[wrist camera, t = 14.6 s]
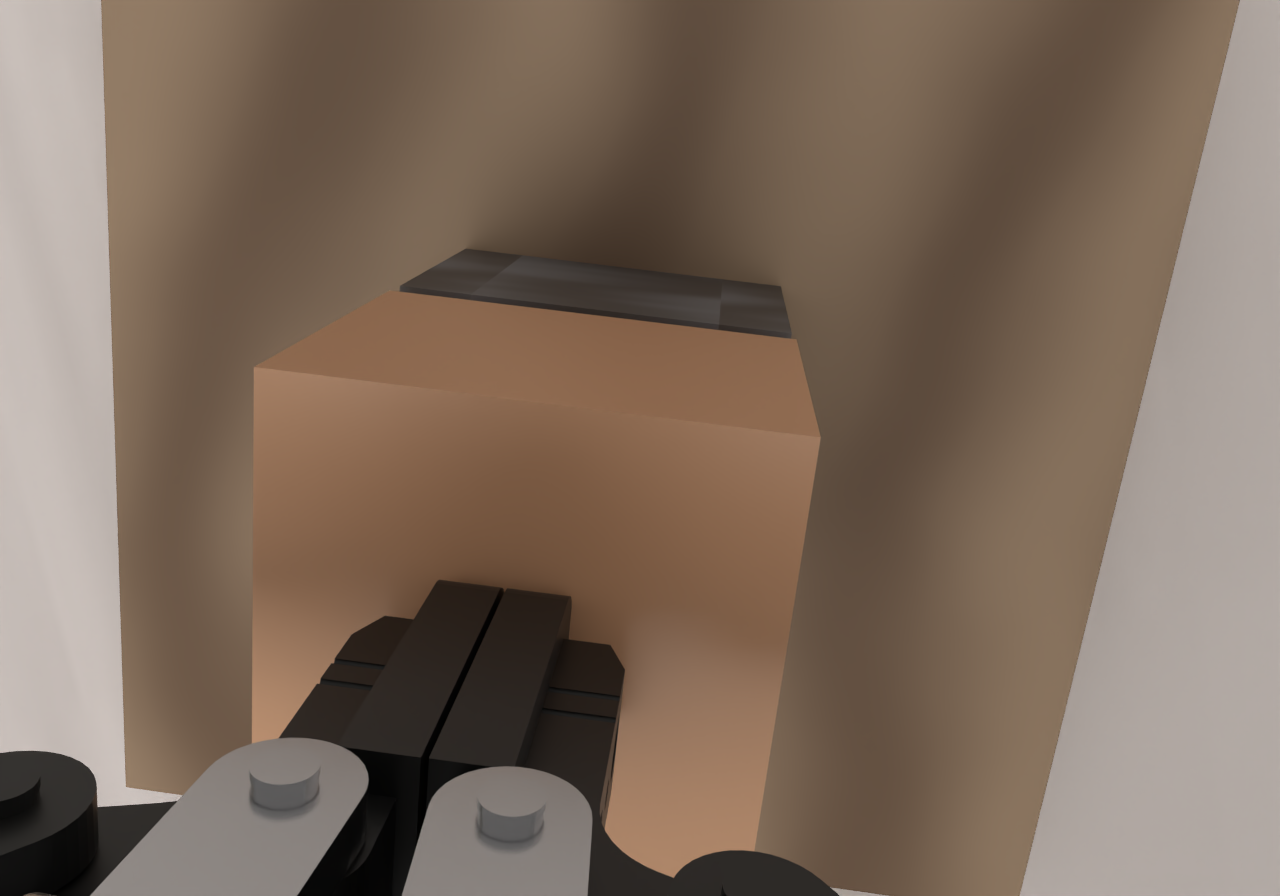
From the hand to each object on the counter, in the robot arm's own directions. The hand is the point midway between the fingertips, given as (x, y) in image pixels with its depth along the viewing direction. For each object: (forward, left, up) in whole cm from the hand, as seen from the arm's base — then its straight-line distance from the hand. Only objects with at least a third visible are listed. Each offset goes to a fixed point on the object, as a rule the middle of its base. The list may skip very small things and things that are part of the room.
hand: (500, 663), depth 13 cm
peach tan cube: (0, 0, -5) cm, 5 cm away
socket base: (0, 0, -12) cm, 12 cm away
